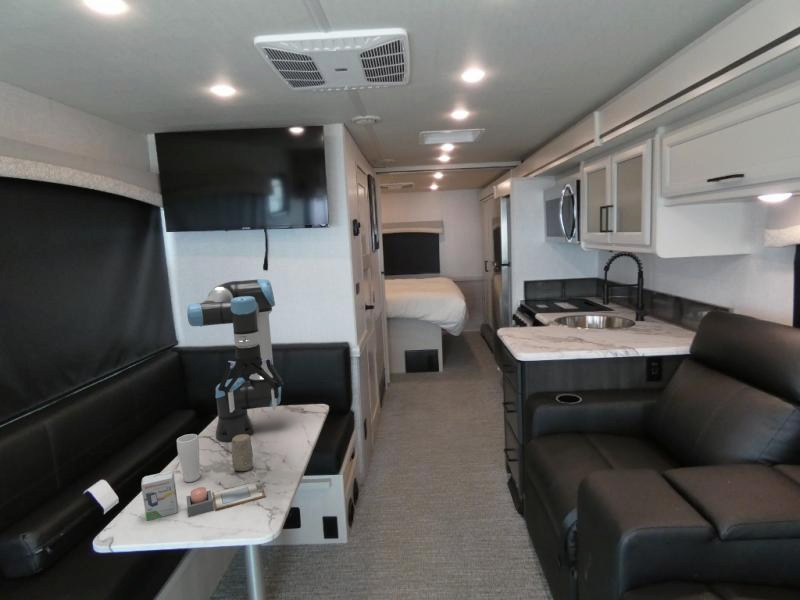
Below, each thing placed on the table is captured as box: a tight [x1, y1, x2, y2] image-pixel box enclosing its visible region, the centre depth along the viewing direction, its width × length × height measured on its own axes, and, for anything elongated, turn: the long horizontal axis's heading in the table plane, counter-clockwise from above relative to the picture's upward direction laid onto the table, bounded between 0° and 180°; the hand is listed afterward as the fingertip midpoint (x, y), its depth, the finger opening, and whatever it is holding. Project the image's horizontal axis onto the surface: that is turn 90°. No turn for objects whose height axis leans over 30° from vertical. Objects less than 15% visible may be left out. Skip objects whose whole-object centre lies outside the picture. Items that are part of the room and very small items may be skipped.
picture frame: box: [211, 479, 267, 512], centre depth 150 cm, size 11×15×1 cm
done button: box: [190, 486, 207, 505], centre depth 144 cm, size 4×4×4 cm
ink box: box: [140, 470, 179, 521], centre depth 142 cm, size 9×5×12 cm, turn 114°
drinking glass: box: [176, 433, 201, 483], centre depth 161 cm, size 7×7×15 cm
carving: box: [230, 434, 254, 472], centre depth 167 cm, size 6×8×12 cm
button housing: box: [186, 490, 214, 518], centre depth 144 cm, size 7×7×3 cm
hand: (253, 409), depth 152 cm, fingers open, 13 cm apart
